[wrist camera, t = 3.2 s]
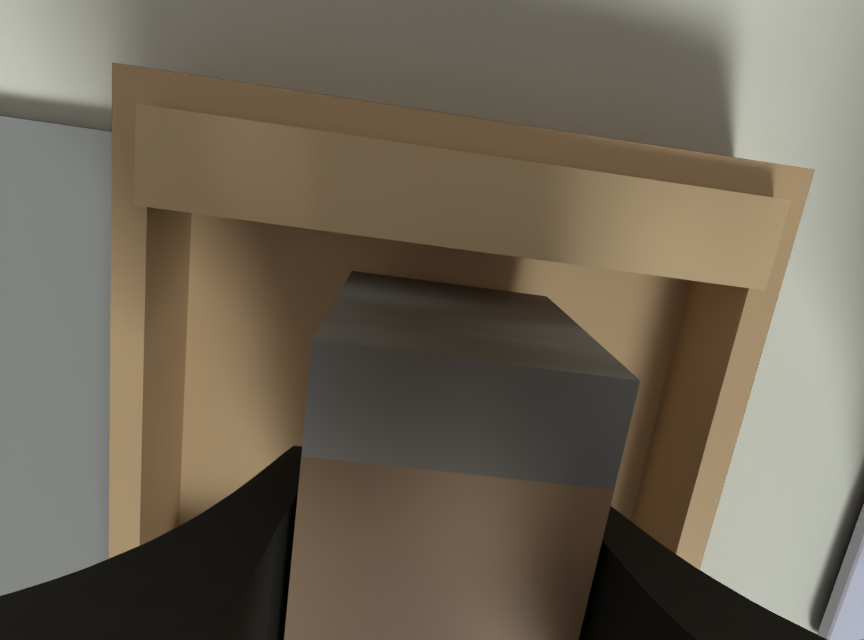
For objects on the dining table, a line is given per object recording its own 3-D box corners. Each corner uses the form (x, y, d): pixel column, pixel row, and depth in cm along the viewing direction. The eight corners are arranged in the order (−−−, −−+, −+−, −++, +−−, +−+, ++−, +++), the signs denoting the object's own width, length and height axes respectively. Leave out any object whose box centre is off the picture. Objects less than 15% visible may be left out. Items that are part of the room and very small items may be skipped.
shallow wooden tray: (735, 169, 13) (834, 169, 10) (602, 688, 16) (646, 804, 13) (173, 85, 12) (95, 56, 9) (155, 653, 15) (95, 769, 12)
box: (546, 296, 12) (640, 380, 7) (484, 622, 14) (524, 863, 9) (351, 270, 12) (312, 340, 7) (315, 607, 14) (264, 847, 9)
